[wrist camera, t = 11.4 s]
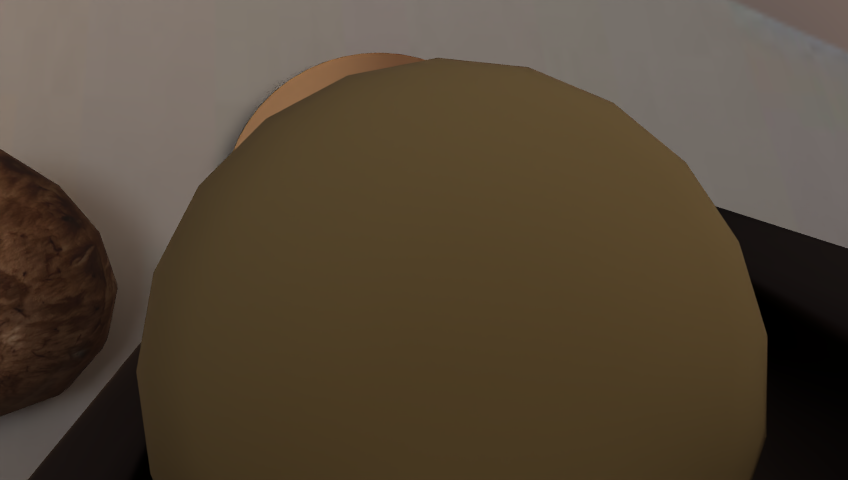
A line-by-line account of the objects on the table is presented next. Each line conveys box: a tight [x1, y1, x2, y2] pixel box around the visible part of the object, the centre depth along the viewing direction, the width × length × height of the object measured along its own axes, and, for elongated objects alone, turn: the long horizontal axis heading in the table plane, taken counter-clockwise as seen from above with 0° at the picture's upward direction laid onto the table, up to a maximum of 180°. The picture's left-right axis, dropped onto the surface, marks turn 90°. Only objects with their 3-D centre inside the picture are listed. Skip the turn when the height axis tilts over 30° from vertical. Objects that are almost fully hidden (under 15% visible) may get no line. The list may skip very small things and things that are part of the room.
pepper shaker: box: [136, 58, 767, 480], centre depth 10 cm, size 6×6×11 cm
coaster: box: [233, 53, 424, 151], centre depth 20 cm, size 9×9×1 cm
